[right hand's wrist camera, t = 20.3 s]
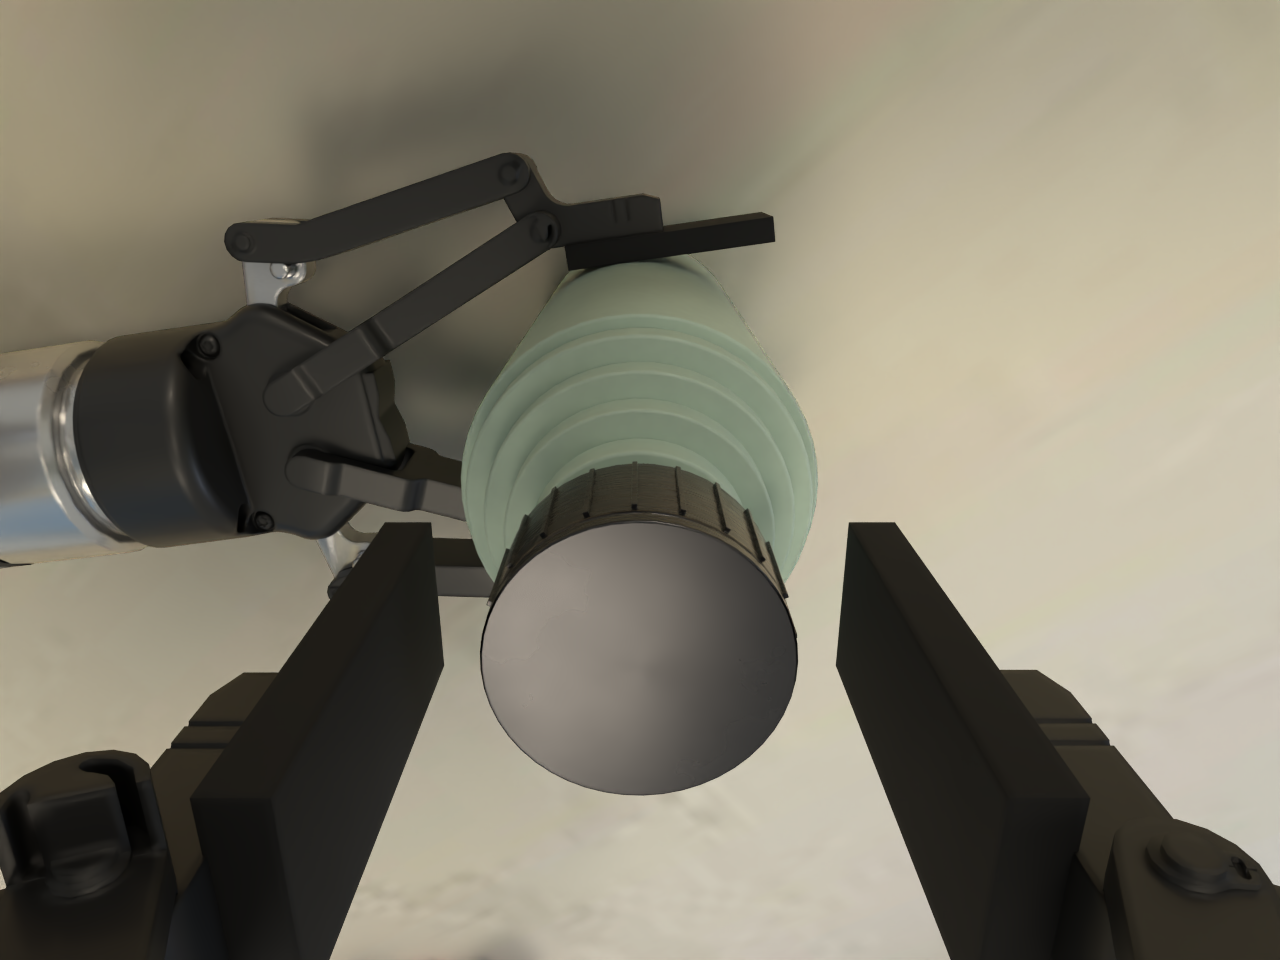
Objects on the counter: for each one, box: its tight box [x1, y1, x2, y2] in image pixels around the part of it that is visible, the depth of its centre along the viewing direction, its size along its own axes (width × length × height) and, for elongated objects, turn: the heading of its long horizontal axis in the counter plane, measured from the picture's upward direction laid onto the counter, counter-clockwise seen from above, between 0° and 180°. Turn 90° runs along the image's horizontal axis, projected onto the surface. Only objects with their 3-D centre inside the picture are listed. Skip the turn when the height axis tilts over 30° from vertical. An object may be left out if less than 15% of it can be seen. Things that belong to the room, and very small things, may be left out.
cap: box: [480, 461, 798, 795], centre depth 14 cm, size 5×5×2 cm
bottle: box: [461, 254, 818, 583], centre depth 24 cm, size 8×8×24 cm
